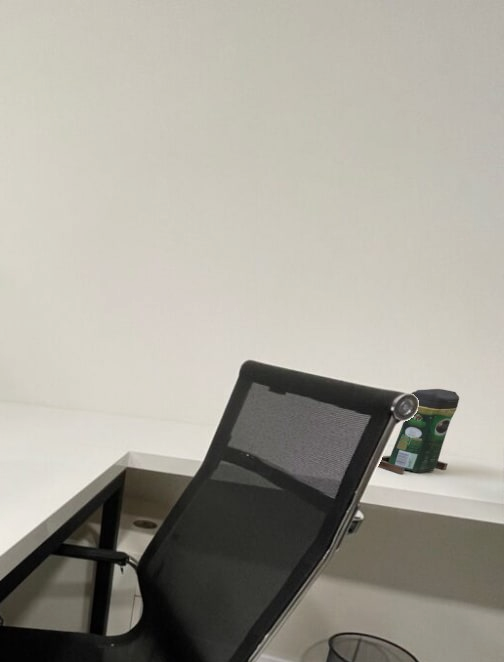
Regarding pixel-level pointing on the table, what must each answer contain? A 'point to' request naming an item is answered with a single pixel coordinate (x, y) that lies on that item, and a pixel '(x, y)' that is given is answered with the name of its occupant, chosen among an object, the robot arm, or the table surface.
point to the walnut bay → (400, 470)
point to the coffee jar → (425, 431)
